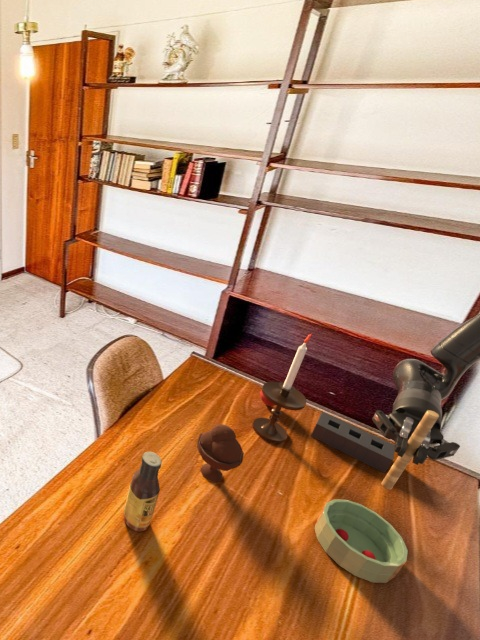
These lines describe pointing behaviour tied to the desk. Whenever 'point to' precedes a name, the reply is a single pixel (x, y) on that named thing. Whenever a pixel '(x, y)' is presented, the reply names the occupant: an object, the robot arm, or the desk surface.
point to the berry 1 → (342, 534)
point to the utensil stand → (354, 442)
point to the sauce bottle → (143, 493)
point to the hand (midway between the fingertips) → (409, 456)
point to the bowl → (361, 541)
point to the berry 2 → (368, 554)
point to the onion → (265, 400)
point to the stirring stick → (410, 449)
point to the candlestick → (281, 401)
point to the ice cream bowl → (219, 452)
